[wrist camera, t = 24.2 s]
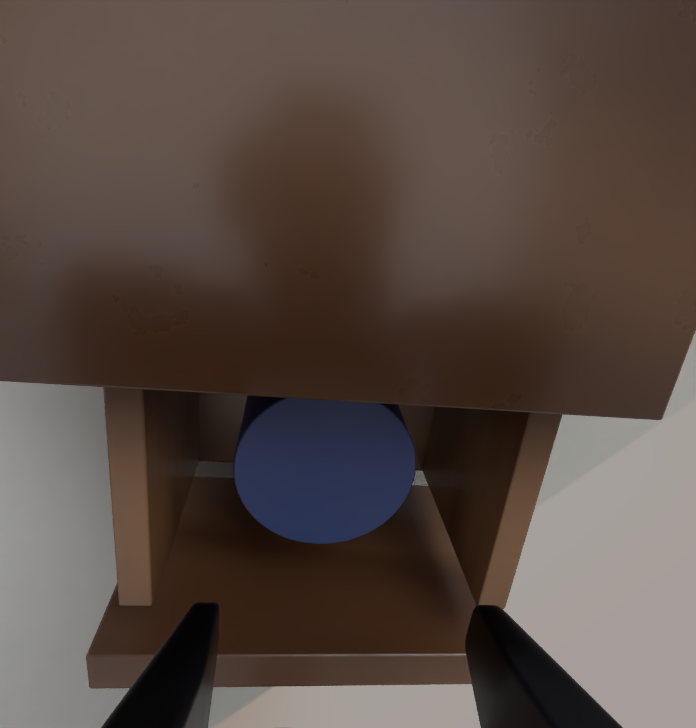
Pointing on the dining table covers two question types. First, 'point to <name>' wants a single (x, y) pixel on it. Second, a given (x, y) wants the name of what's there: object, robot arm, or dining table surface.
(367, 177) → the cabinet
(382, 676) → the drawer
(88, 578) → the dining table surface
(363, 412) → the tin
